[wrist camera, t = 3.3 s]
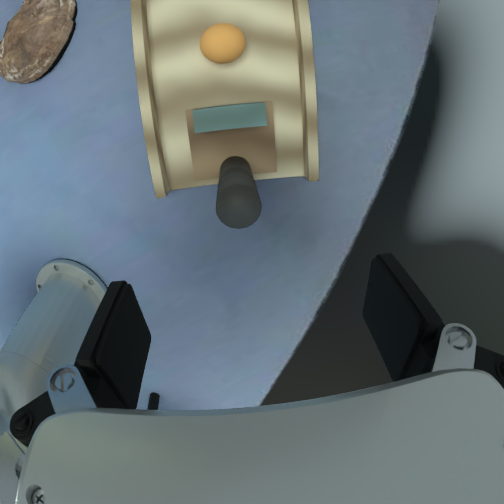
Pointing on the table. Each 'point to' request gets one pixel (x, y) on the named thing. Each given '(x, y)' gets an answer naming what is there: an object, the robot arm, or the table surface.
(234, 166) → the kicker
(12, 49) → the shell
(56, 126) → the table surface
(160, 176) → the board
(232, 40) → the ball
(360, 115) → the table surface
